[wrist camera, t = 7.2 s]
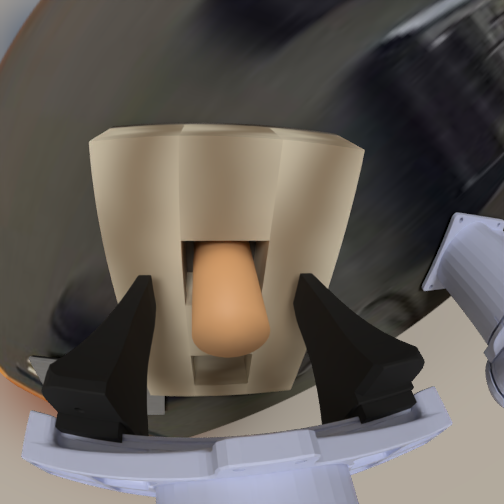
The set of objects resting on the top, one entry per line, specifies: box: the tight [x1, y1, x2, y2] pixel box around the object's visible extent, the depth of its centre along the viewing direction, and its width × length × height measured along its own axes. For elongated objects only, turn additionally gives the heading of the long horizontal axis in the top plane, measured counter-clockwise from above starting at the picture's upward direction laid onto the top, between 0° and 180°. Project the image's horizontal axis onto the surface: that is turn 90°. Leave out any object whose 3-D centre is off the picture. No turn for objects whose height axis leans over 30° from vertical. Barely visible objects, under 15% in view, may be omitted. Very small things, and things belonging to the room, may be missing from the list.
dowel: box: [192, 241, 270, 358], centre depth 14 cm, size 3×3×7 cm
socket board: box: [89, 123, 365, 396], centre depth 18 cm, size 12×20×4 cm, turn 175°
